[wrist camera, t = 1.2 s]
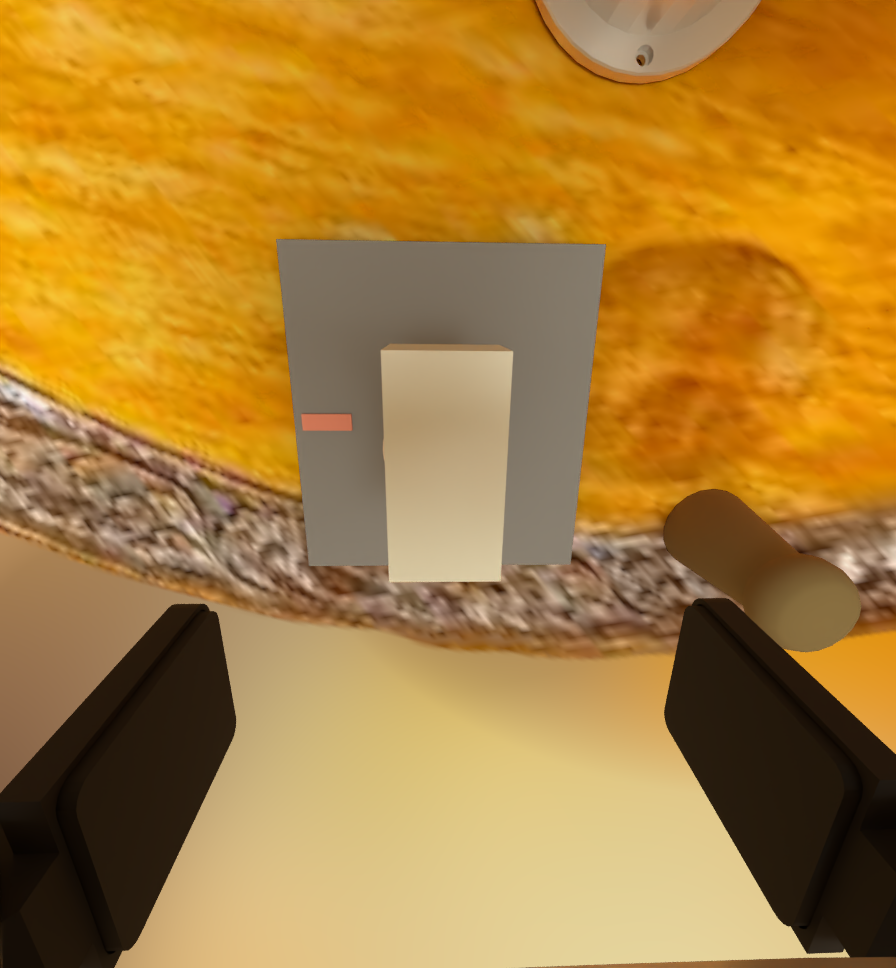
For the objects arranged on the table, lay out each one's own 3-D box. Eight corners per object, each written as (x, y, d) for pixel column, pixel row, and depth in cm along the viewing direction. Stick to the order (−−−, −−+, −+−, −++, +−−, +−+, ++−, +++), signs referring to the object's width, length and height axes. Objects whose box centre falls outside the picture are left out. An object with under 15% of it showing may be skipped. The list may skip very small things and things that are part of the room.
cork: (689, 477, 33) (808, 554, 22) (763, 503, 33) (911, 589, 23) (648, 552, 34) (741, 654, 24) (720, 575, 35) (839, 683, 25)
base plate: (284, 243, 27) (256, 230, 23) (597, 248, 27) (626, 236, 23) (314, 555, 34) (297, 589, 29) (564, 554, 34) (583, 587, 30)
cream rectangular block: (385, 340, 24) (367, 350, 18) (501, 341, 24) (526, 351, 18) (391, 526, 28) (378, 591, 21) (492, 525, 28) (510, 590, 21)
